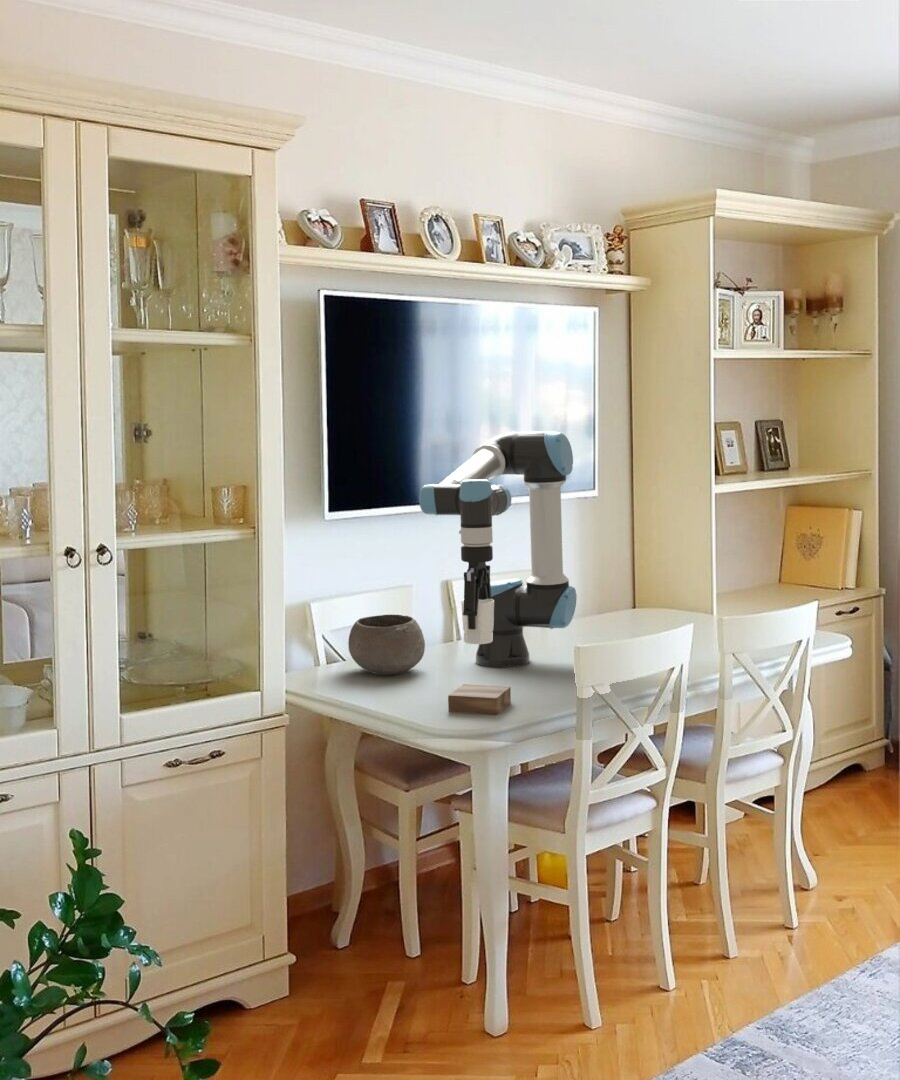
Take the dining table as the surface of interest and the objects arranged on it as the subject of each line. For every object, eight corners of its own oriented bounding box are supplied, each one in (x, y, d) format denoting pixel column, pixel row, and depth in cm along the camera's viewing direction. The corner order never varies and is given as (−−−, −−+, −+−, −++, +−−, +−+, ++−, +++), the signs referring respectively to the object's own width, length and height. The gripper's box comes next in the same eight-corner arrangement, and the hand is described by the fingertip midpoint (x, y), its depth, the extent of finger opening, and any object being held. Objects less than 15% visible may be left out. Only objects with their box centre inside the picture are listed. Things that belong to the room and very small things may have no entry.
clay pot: (423, 680, 332) (422, 624, 331) (345, 681, 333) (343, 626, 331) (427, 663, 353) (426, 611, 352) (353, 665, 354) (352, 612, 352)
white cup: (499, 643, 298) (498, 602, 297) (467, 646, 296) (467, 604, 295) (488, 637, 306) (488, 597, 305) (458, 640, 303) (457, 599, 302)
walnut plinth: (463, 700, 310) (463, 684, 310) (510, 702, 306) (510, 686, 306) (448, 711, 299) (448, 695, 298) (496, 714, 295) (496, 698, 295)
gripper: (474, 539, 309) (476, 630, 311) (448, 549, 290) (450, 646, 292) (503, 539, 307) (505, 631, 309) (479, 550, 287) (480, 648, 290)
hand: (478, 638), depth 301 cm, fingers closed on white cup, 8 cm apart
